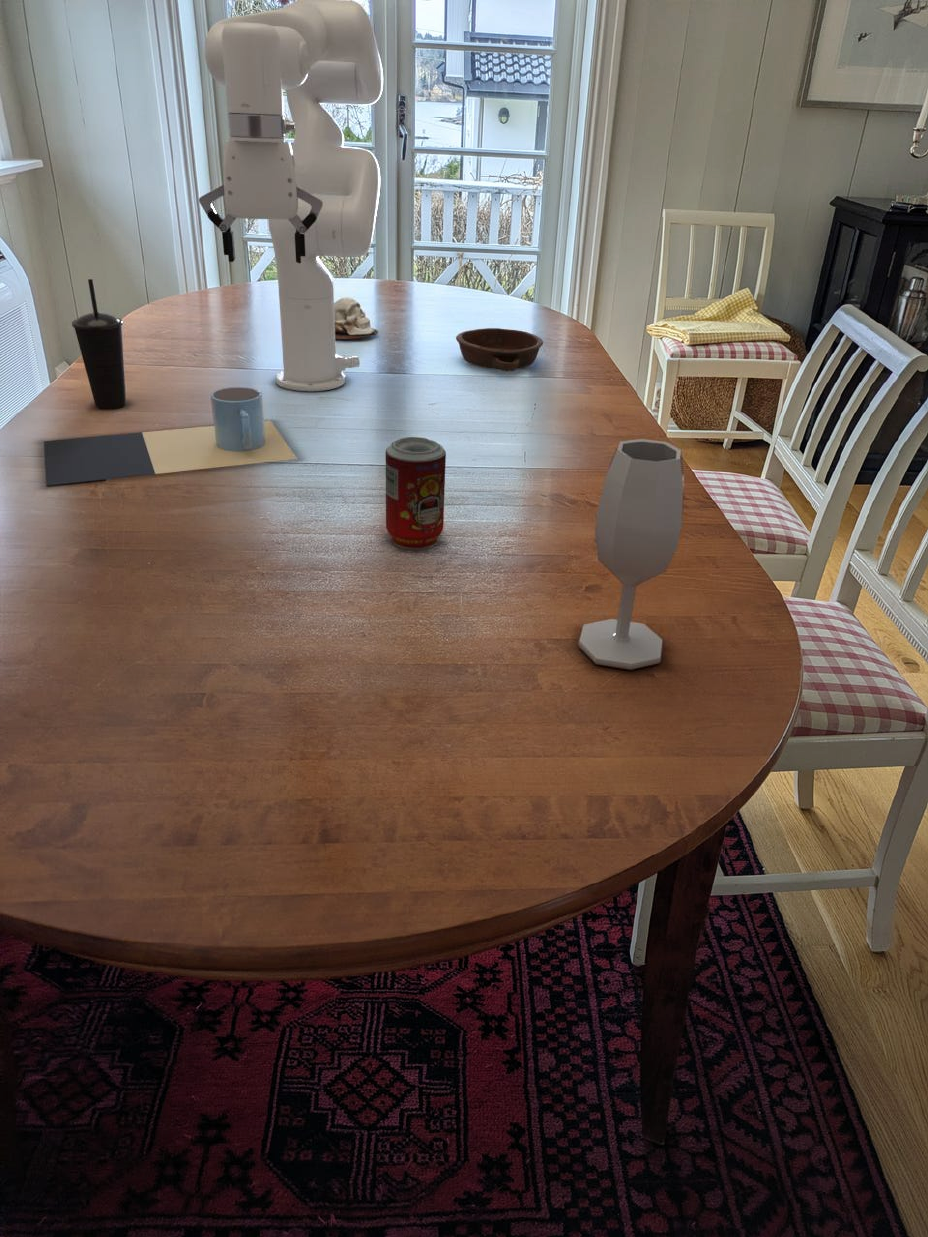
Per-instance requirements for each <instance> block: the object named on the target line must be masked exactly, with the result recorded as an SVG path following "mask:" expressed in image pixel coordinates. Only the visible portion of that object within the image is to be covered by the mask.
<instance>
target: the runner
mask: <svg viewBox="0 0 928 1237" xmlns="http://www.w3.org/2000/svg"><path fill="white" fill-rule="evenodd" d="M264 428H265V441H266V442H265V444H264V445H263V446H262V447H260V448H257V449H253V450H248V451H229V450H224V449H221V448H219V447H217V445H216V442H215V433H214V425H207V426H198V427H197V426H195V427H186V428H184V427H183V428H173V429H163V430H152V431H142V432H131V433H120V434H108V435H107V434H106V435H97V436H86V437H75V438H64V439H52V440H44V441H43V447H44V448H43V450H44V467H45V468H44V470H45V486H46V488H47V487H48V488H49V487H56V486H58V487H59V486H68V485H77V484H84V483H85V484H86V483H94V482H104V481H105V482H106V481H107V480H114V479H123V478H132V477H133V478H134V477H141V476H142V477H143V476H152V475H159V474H170V473H171V474H172V473H180V472H188V471H198V470H207V469H217V468H226V467H235V466H236V467H237V466H245V465H255V464H263V463H272V462H273V463H274V462H282V461H283V462H284V461H292V460H293V461H294V460H298V458H297V457H296V455H295V453H293V451H292V449H291V448H290V447H289V445H288V443H287V441H285V439H284V438H283V436H282V435H281V433H280V431H279V430H278V429H277V428H276V426H275V425H274V423H273V422H272V421H271V420H264Z"/></svg>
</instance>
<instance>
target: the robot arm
mask: <svg viewBox="0 0 928 1237" xmlns="http://www.w3.org/2000/svg"><path fill="white" fill-rule="evenodd" d="M204 59H205V64H206V67H207V70H208V72H209V73H210V76H211V77H212V78H213V79H214V81H215V82H217V83H218V84H219V85H222V86H224V87H225V92H226V93H225V95H226V106H227V107H226V108H227V120H228V133H229V139H225V140H224V146H223V184H221V185H219V186H218V187H216V188H214V189H212V190H210V191H209V192H207V193H205V194H203V195H201V196H200V197H199V199H198V202H199V204H200V206H201V207H202V209H203V211H204V213H205V214H206V216H207V218H208V219H209V220H210V222H211V223H212V224H214V225H215V227H216V228H218V229H219V231H220V232H221V238H222V247H223V248H222V250H223V255H224V256H228V262H229V263H234V262H235V260H236V250H235V236H234V230H232V225H233V223H234V222H235V220H237V219H245V220H246V219H247V220H268V227H269V234H270V237H271V242H272V247H273V252H274V257H275V264H276V274H277V286H278V300H279V314H280V315H279V317H280V331H281V349H282V362H283V363H282V364H283V370H281V371H279V372H278V373H276V375H275V383H276V384H277V385H278V386H279V387H281V388H283V389H287V390H292V391H298V392H322V391H329V390H334V389H336V388H340V387H342V386H343V385H344V384H345V383H346V375H345V374H344V372H343V371H345V370H346V369H347V368H349V369H353V368H357V367H359V366H360V358H359V356H357V355H355V356H349V357H346V356H345V355H338V354H337V349H336V338H335V317H334V303H335V292H334V290H335V289H334V282H333V278H332V276H331V274H330V272H329V270H328V269H327V267H326V266H325V265H324V263H323V262H322V260H321V259H320V258H319V257H337V258H338V257H339V258H359V257H363V256H365V255H366V254H367V253H368V252H369V251H370V248H371V246H372V242H373V237H374V232H375V225H376V218H377V211H378V206H379V198H380V189H381V172H380V166H379V163H378V160H377V158H376V156H375V155H374V154H373V153H372V151H370V150H368V149H365V148H361V147H355V146H353V147H352V146H344V143H345V137H344V136H345V135H344V133H343V130H342V129H341V127H340V125H339V123H338V122H337V121H336V119H335V118H334V116H332V114H330V112H329V111H328V110H327V109H326V108H325V107H324V106H322V104H323V105H324V104H326V105H347V106H349V105H351V106H371V105H373V104H375V103H377V101H379V99H380V97H381V95H382V92H383V87H384V73H383V66H382V60H381V57H380V52H379V48H378V44H377V40H376V36H375V32H374V28H373V25H372V21H371V19H370V17H369V14H368V13H367V11H366V10H365V8H364V7H363V6H362V4H360V3H358V2H356V1H354V0H295V1H293V2H290V3H289V4H287V5H286V6H284V7H281V8H277V9H271V10H264V11H260V12H255V13H249V14H242V15H235V16H230V17H226V18H223V19H221V20H219V21H216V22H215V23H214V24H212V26H211V27H210V28H209V30H208V32H207V35H206V38H205V41H204ZM283 90H285V95H286V100H287V106H288V109H289V113H290V116H291V120H292V121H290V120H289V119H286V118H285V116H284V114H285V112H284V96H283V94H284V93H283ZM290 133H294V139H293V143H292V144H293V145H292V144H291V141H287V140H286V135H288V134H290ZM222 197H224V206H225V210H226V213H227V214H226V215H225V217H224V218H223V217H222V216H221V215H220V214H219V213H218V212H217V211H216V210H215V208H214V206H213V203H214V202H215V201H216V200H219V199H220V198H222Z"/></svg>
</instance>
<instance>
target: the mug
mask: <svg viewBox="0 0 928 1237" xmlns="http://www.w3.org/2000/svg"><path fill="white" fill-rule="evenodd" d="M263 402H264V401H263V394H262V392H261V391H260V390H258V389H256V388H252V387H245V386H244V387H243V386H233V387H224V388H220V389H217V390H214V391H213V392H211V393H210V403H211V413H212V423H213V426H214V433H215V442H216V445H217V447H219V448H221V449H224V450H229V451H248V450H253V449H257V448H260V447H262V446H263V445H264V444H265V442H266V441H265V428H264V421H265V417H264V416H265V415H264V404H263Z"/></svg>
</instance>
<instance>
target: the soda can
mask: <svg viewBox="0 0 928 1237" xmlns="http://www.w3.org/2000/svg"><path fill="white" fill-rule="evenodd" d="M446 451H447V450H445V448H444V446H443V445H441V444H440V443H438V441H435V440H431V439H429V438H426V437H419V436H418V437H417V436H408V437H407V436H406V437H402V438H399V439H397V440H395V441H393V442H391V443H390V444H389V445H388V446H387V447H386V448H385V529H386V531H387V533H388V534H389V536H390V538H391V542H392V544H393V545H395V546H396V547H399V548H401V549H405V550H413V551H414V550H418V551H419V550H425V549H430V548H432V547H434V546H435V545H436V544H438V539H439V537H440V535H441V534H442V533H443V531H444V526H445V525H444V524H445V520H444V519H445V495H446V494H445V485H446V461H447V460H446V459H447V453H446Z"/></svg>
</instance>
